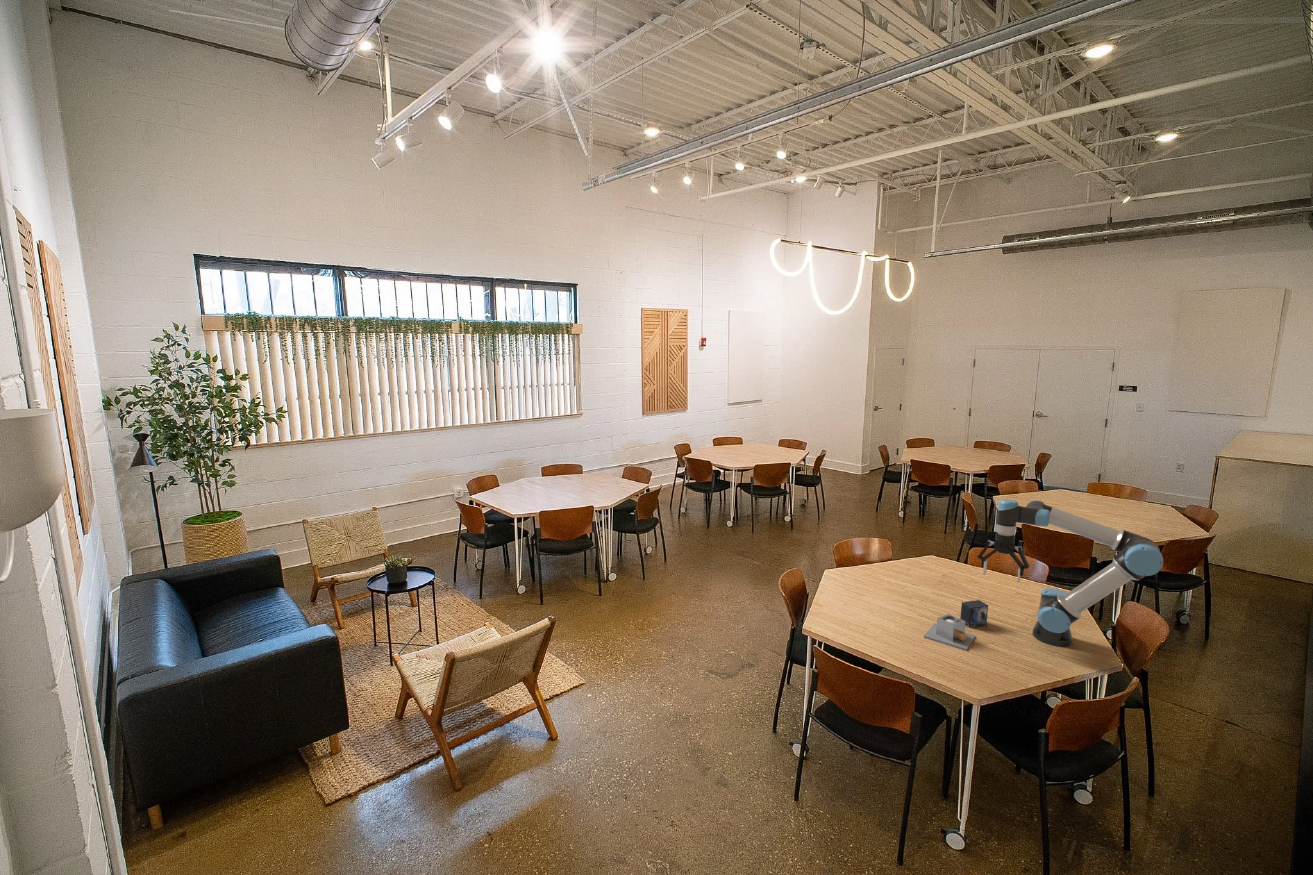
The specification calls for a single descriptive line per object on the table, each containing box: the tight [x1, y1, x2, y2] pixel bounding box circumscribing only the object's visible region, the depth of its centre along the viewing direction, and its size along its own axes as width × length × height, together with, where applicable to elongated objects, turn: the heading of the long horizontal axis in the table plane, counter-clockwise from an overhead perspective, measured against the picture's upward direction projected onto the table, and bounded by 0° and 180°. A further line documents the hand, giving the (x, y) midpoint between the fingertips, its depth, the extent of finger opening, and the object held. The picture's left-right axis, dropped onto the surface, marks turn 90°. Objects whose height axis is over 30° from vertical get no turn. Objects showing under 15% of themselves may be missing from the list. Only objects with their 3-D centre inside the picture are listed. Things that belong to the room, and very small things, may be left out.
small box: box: [959, 599, 989, 628], centre depth 278 cm, size 11×6×10 cm, turn 106°
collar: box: [936, 613, 967, 642], centre depth 264 cm, size 8×11×8 cm
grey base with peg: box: [923, 619, 976, 651], centre depth 266 cm, size 18×16×8 cm
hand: (1001, 577), depth 262 cm, fingers open, 13 cm apart
